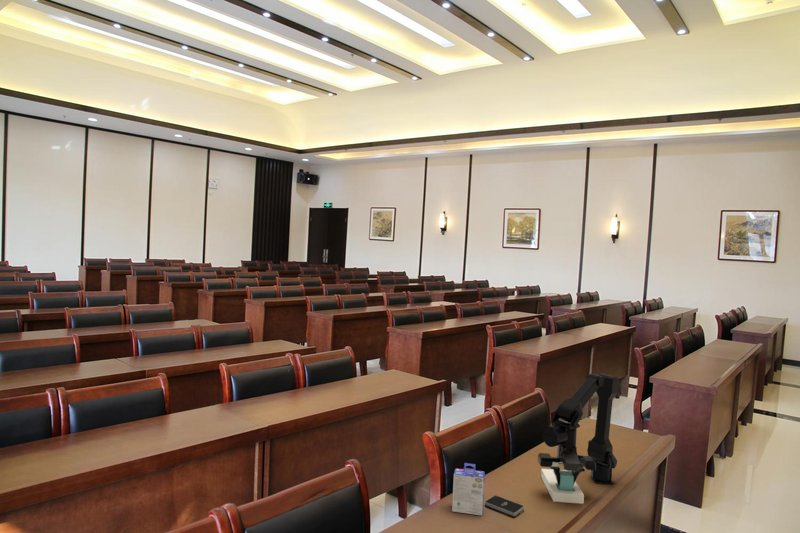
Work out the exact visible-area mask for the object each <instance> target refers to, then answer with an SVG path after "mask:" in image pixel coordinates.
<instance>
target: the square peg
mask: <svg viewBox="0 0 800 533" xmlns="http://www.w3.org/2000/svg"><path fill="white" fill-rule="evenodd" d="M562 470H563V469H560V472H559V473H560V486H558V489H559V490H562V491H573V481H574V476H573V474H572V473H571V471H572V470H570V471H562Z"/></svg>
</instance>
